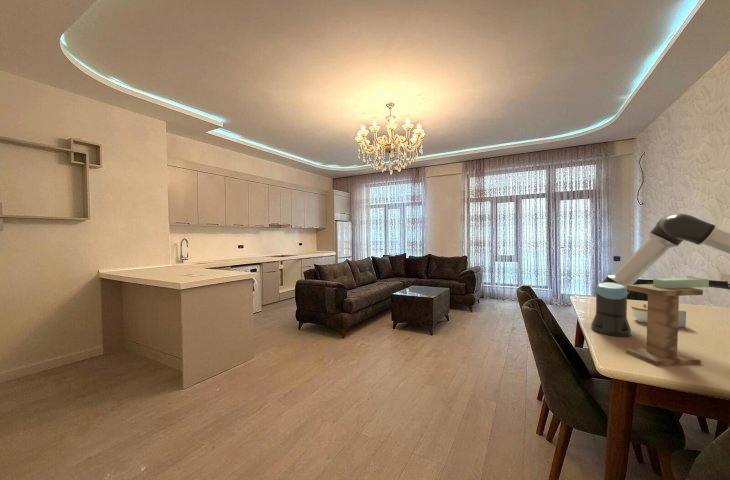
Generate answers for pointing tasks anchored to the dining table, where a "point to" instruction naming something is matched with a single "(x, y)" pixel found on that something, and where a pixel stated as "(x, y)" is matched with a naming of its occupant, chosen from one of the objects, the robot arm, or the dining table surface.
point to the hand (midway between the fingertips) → (703, 277)
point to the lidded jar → (640, 312)
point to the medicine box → (681, 318)
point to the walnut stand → (663, 325)
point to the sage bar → (680, 282)
